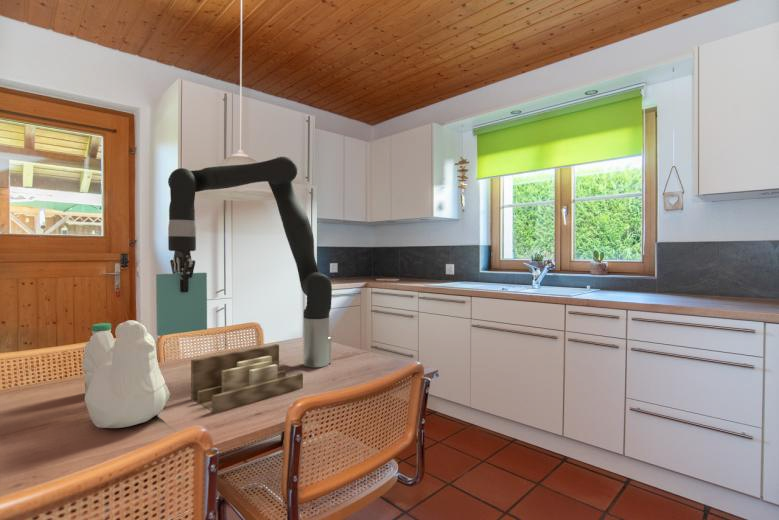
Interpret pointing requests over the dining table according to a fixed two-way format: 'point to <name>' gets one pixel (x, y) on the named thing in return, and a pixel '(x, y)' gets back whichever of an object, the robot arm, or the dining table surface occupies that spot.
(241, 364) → the offcut stack
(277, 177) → the robot arm
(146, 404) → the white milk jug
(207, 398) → the walnut rack
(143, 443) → the dining table surface
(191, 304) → the teal panel
